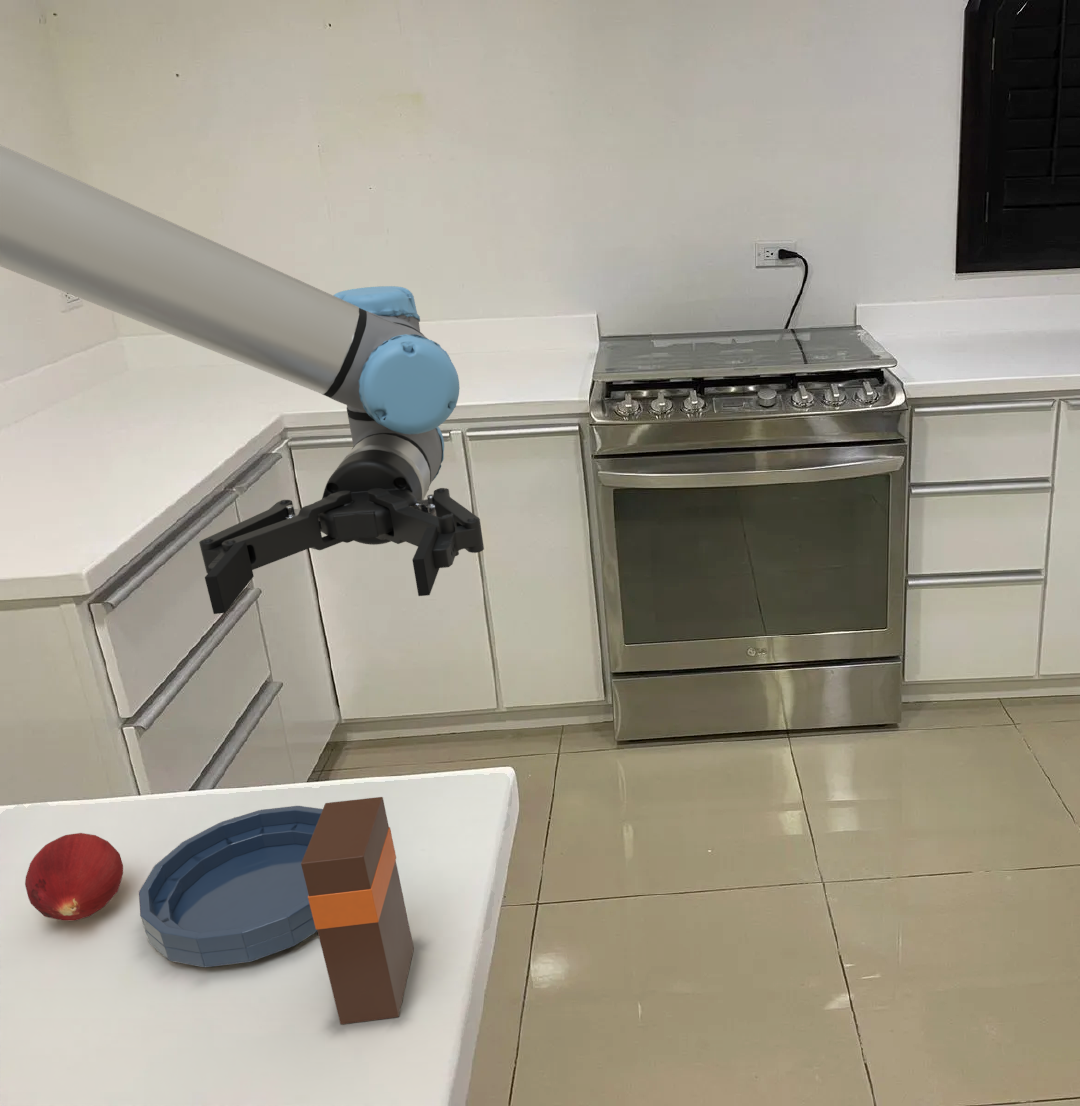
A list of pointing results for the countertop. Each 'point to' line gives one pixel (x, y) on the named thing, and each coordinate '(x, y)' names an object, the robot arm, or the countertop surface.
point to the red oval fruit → (74, 876)
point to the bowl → (232, 890)
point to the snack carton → (359, 909)
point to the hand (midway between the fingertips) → (318, 586)
